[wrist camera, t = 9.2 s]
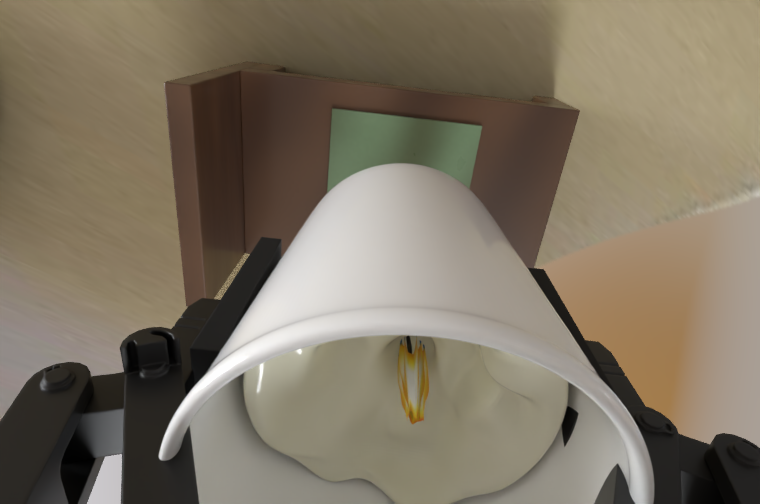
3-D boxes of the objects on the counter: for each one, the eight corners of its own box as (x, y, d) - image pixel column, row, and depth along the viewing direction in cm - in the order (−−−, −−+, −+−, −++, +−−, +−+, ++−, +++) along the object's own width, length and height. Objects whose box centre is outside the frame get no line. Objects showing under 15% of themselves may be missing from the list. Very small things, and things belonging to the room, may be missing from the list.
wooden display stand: (554, 97, 31) (634, 137, 21) (513, 253, 37) (559, 348, 26) (245, 61, 31) (162, 81, 20) (249, 223, 36) (185, 307, 26)
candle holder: (468, 365, 22) (532, 678, 12) (271, 318, 22) (145, 608, 11) (553, 178, 18) (775, 403, 7) (310, 111, 17) (164, 255, 7)
